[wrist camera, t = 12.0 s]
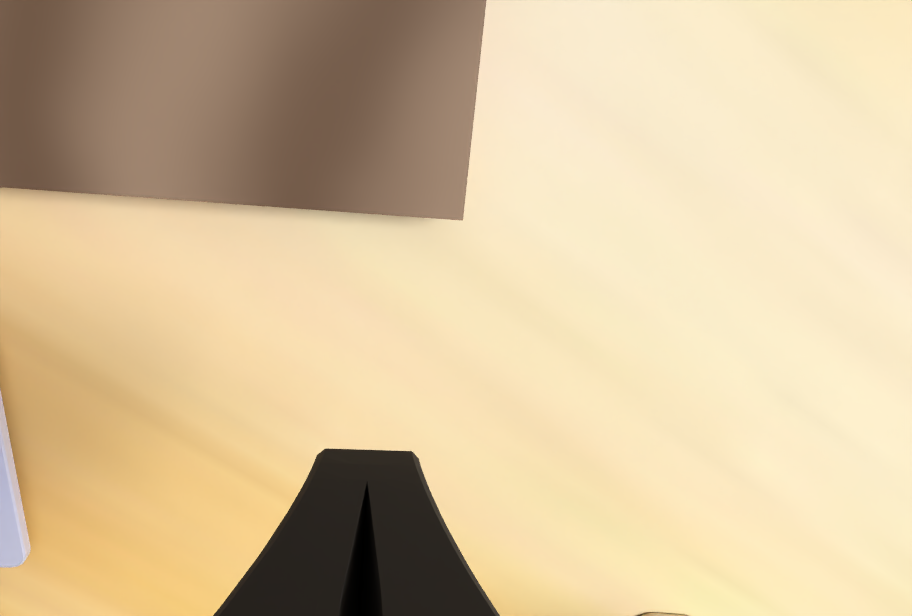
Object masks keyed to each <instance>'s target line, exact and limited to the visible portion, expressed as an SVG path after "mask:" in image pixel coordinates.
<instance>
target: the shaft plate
mask: <svg viewBox="0 0 912 616" xmlns="http://www.w3.org/2000/svg"><path fill="white" fill-rule="evenodd" d="M485 7H486V0H0V187H7V188H21V189H35V190H48V191H62V192H76V193H90V194H104V195H118V196H132V197H146V198H160V199H173V200H187V201H201V202H215V203H229V204H243V205H257V206H271V207H285V208H298V209H312V210H326V211H340V212H354V213H368V214H382V215H396V216H410V217H423V218H437V219H451V220H463V214H464V204H465V195H466V185H467V176H468V167H469V157H470V148H471V139H472V129H473V120H474V110H475V101H476V92H477V82H478V73H479V64H480V54H481V45H482V35H483V26H484V17H485Z"/></svg>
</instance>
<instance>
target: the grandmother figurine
mask: <svg viewBox="0 0 912 616" xmlns="http://www.w3.org/2000/svg"><path fill="white" fill-rule="evenodd" d="M641 616H687V615H678V614H665V613H647V614H644V615H641Z"/></svg>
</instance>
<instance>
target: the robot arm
mask: <svg viewBox="0 0 912 616" xmlns="http://www.w3.org/2000/svg"><path fill="white" fill-rule="evenodd" d="M30 549H31V547H30V542H29V537H28V531H27V526H26V521H25V516H24V511H23V505H22V500H21V495H20V490H19V484H18V479H17V474H16V469H15V463H14V458H13V453H12V448H11V443H10V437H9V432H8V427H7V422H6V416H5V411H4V406H3V401H2V396H1V390H0V567H17V566H19V565H21V564H23V562H24V561H25V560H26V558H27V557H28V555H29V553H30ZM213 616H500V615H499V614H498V612H497V611H496V609H495V608H494V606H493V605H492V603H491V601H490V600H489V598H488V597H487V595H486V594H485V592H484V591H483V589H482V587H481V586H480V584H479V583H478V581H477V579H476V578H475V576H474V574H473V573H472V571H471V569H470V568H469V566H468V564H467V563H466V561H465V559H464V557H463V555H462V554H461V552H460V550H459V548H458V546H457V544H456V543H455V541H454V539H453V537H452V535H451V533H450V532H449V530H448V528H447V526H446V524H445V522H444V520H443V518H442V516H441V514H440V512H439V510H438V507H437V505H436V503H435V501H434V499H433V497H432V494H431V492H430V490H429V487H428V485H427V482H426V480H425V477H424V474H423V472H422V469H421V466H420V462H419V459H418V457H417V456H416V455H415V454H414V453H413V452H412V451H384V450H352V449H324V450H323V451H322V452H321V453H319V454H318V455H317V457H316V459H315V462H314V464H313V467H312V469H311V471H310V473H309V475H308V477H307V479H306V481H305V483H304V485H303V487H302V488H301V490H300V492H299V494H298V495H297V497H296V499H295V501H294V502H293V504H292V506H291V507H290V509H289V511H288V512H287V514H286V516H285V517H284V519H283V520H282V522H281V523H280V525H279V526H278V528H277V529H276V531H275V532H274V534H273V535H272V537H271V538H270V540H269V541H268V543H267V544H266V546H265V548H264V549H263V550H262V552H261V553H260V555H259V556H258V558H257V559H256V560H255V562H254V563H253V564H252V566H251V567H250V568H249V570H248V571H247V572H246V574H245V575H244V576H243V578H242V579H241V580H240V582H239V583H238V584H237V586H236V587H235V588H234V590H233V591H232V592H231V594H230V595H229V596H228V598H227V599H226V600H225V602H224V603H223V604H222V605H221V607H220V608H219V609H218V610H217V612H216V613H215V614H214V615H213Z"/></svg>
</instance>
